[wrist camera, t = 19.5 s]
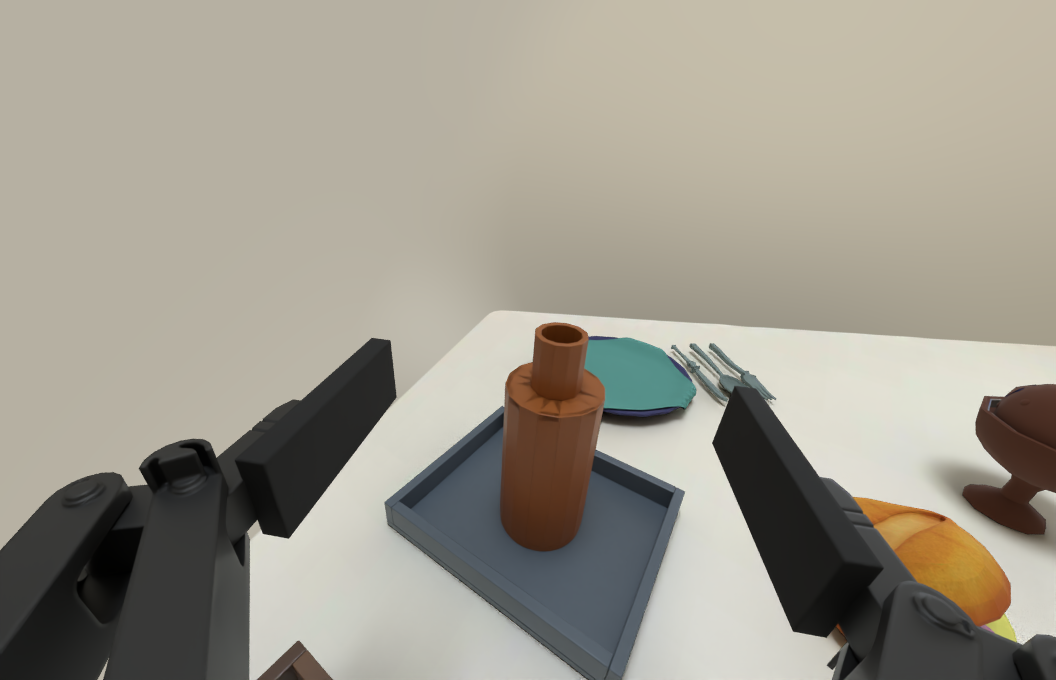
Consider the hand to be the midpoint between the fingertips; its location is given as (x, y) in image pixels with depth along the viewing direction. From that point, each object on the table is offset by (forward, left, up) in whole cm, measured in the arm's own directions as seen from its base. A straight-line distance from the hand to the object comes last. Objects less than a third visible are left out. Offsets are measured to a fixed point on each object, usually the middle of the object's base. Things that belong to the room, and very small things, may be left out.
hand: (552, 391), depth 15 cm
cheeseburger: (+20, +16, -20) cm, 32 cm away
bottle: (-4, +9, -19) cm, 21 cm away
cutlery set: (-3, +37, -20) cm, 42 cm away
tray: (-4, +9, -20) cm, 22 cm away
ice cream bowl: (+32, +36, -20) cm, 52 cm away
